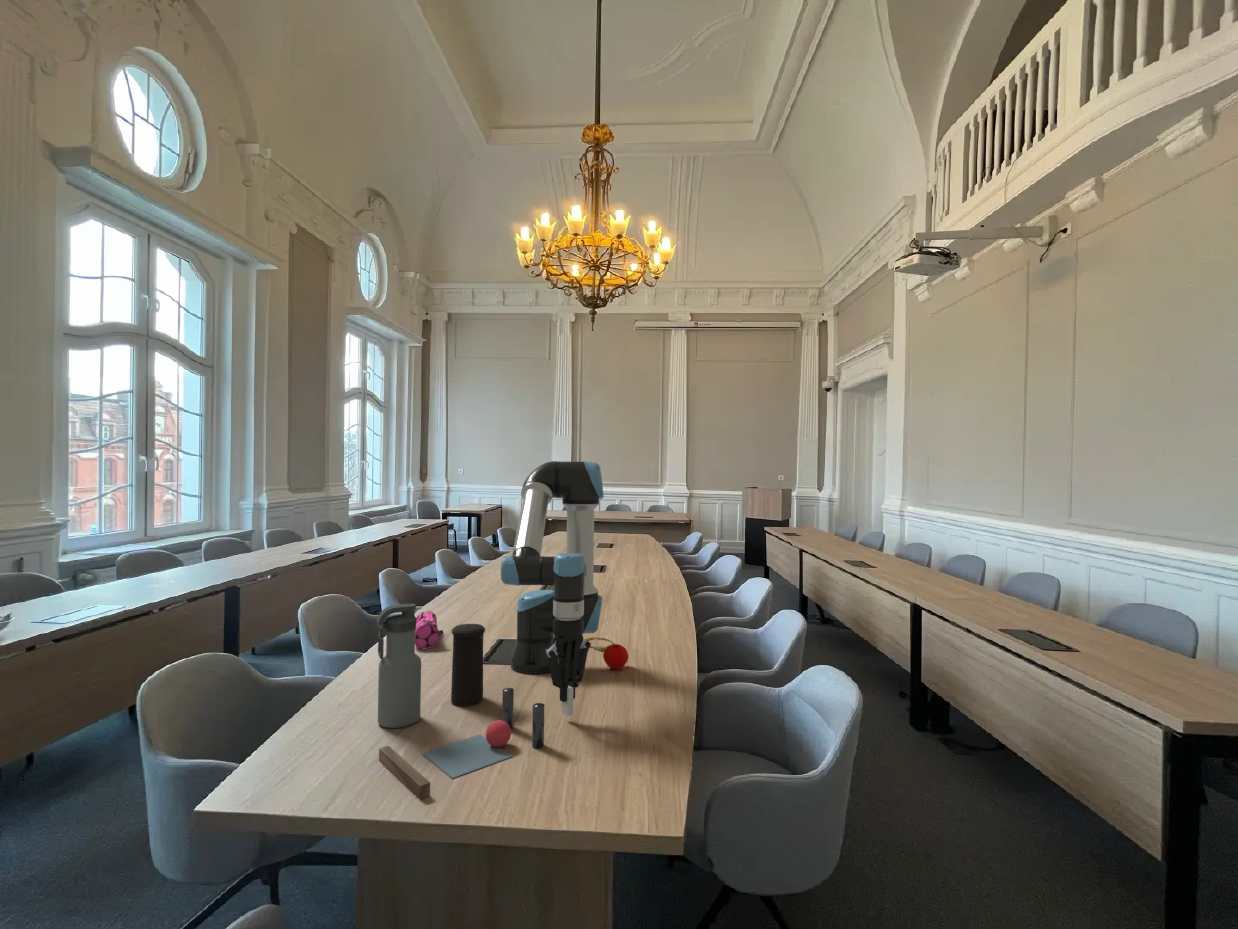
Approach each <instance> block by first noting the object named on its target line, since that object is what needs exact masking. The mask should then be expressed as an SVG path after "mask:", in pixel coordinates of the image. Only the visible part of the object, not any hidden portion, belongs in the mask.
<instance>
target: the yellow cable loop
mask: <svg viewBox="0 0 1238 929" xmlns="http://www.w3.org/2000/svg"><path fill="white" fill-rule="evenodd" d="M593 639H595V637H589V638H588V637H587V638H585V639H584V640H585V641H588V642H589V641H592V640H593ZM597 639H598V640H599V641H606V642H609V645H607V646H601V645H595V646H592V645H591V646H590V648H592V649H594V650H595V651H598V652H603V653H604V651H605V649H606V648H607V647H608V646H610V645H613V644H615V643H614V641H612V640H611V639H607V638H605V637H597ZM590 648H589V649H590Z"/></svg>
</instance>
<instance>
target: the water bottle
mask: <svg viewBox="0 0 1238 929" xmlns="http://www.w3.org/2000/svg"><path fill="white" fill-rule="evenodd" d="M415 610H417V604H415V603H401V604H392V605H389V606H387V607H384V609H382V610H381V611H380V613H379V614H378V617H377V620H376V625H377V628H378V638H377V642H378V643H377V654H378V657H379V659H380V661H379V663H378V682H377V683H378V687H377V691H378V692H377V693H378V694H377V723H378V724H379V725H380V726H381V727H384V728H387V729H401V727H402V728H405V727H408V726H409V727H410V726H412V725H413V724H416V723H417V722H418V721H419V719H420V717H421V697H422V696H421V695H422V694H421V693H422V692H421V691H422V690H421V689H422V658H421V657H420V656H419V655H418V654H417V653H415V646H416V645H415V630H416V617H417V616H416V615H415V614H416V613H415ZM396 613H399V614H396ZM392 614H395V615H392ZM384 629H385V633H386V638H385V639H386V641H384ZM384 642H385V643H386V644H385V647H384ZM384 648H386V649H385V650H386V652H385V653H386V654H385V656H384ZM411 724H412V725H411Z"/></svg>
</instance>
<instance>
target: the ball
mask: <svg viewBox="0 0 1238 929" xmlns="http://www.w3.org/2000/svg"><path fill="white" fill-rule="evenodd" d="M511 735H512V729H510V726H509V725H508V724H507V723H506V722H505V721H502V720H501V719H498V720H494V721H492V722H491V723H490V724H489V725H488V727H487V728H486V731H485V738H486V739H487V741H488V743H489V744H490V745H491V746H493V747H500V748H502V747H503V746H505V745H506V744H507V743H508V742H509V741H510V739H511Z"/></svg>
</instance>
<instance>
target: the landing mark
mask: <svg viewBox="0 0 1238 929" xmlns="http://www.w3.org/2000/svg"><path fill="white" fill-rule="evenodd" d="M421 754H422V755H423V756H424V757H425V758H426V759H427V760H428V761H430V762H431V763H432V764H433V765H435V766H436V767H437V768H438V769H439V770H441V771H442V772H443V773H444V774H446V775H447V776H448V777H449V778H450V779H452V780H453V779H455V778H459V777H461V776H463V775H467V774H469V773H472V772H475V771H477V770H478V771H479V770H480V769H483V768H486V767H489V766H492V765H495V764H497V763H500V762H503V761H506V760H508V759H511V758H513V757H514V756H513V755H512V754H511V753H509V752H508V751H506V750H504V749H503V748H502V747H493V746H491V745H490V744H489V743H488V741H487V739H486V736H483V735H482V734H477V735H474V736H471V737H467V738H465V739H461V740H459V741H455V742H452V743H449V744H445V745H443V746H439V747H435V748H434V749H430V750H426V751H424V752H421Z"/></svg>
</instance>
